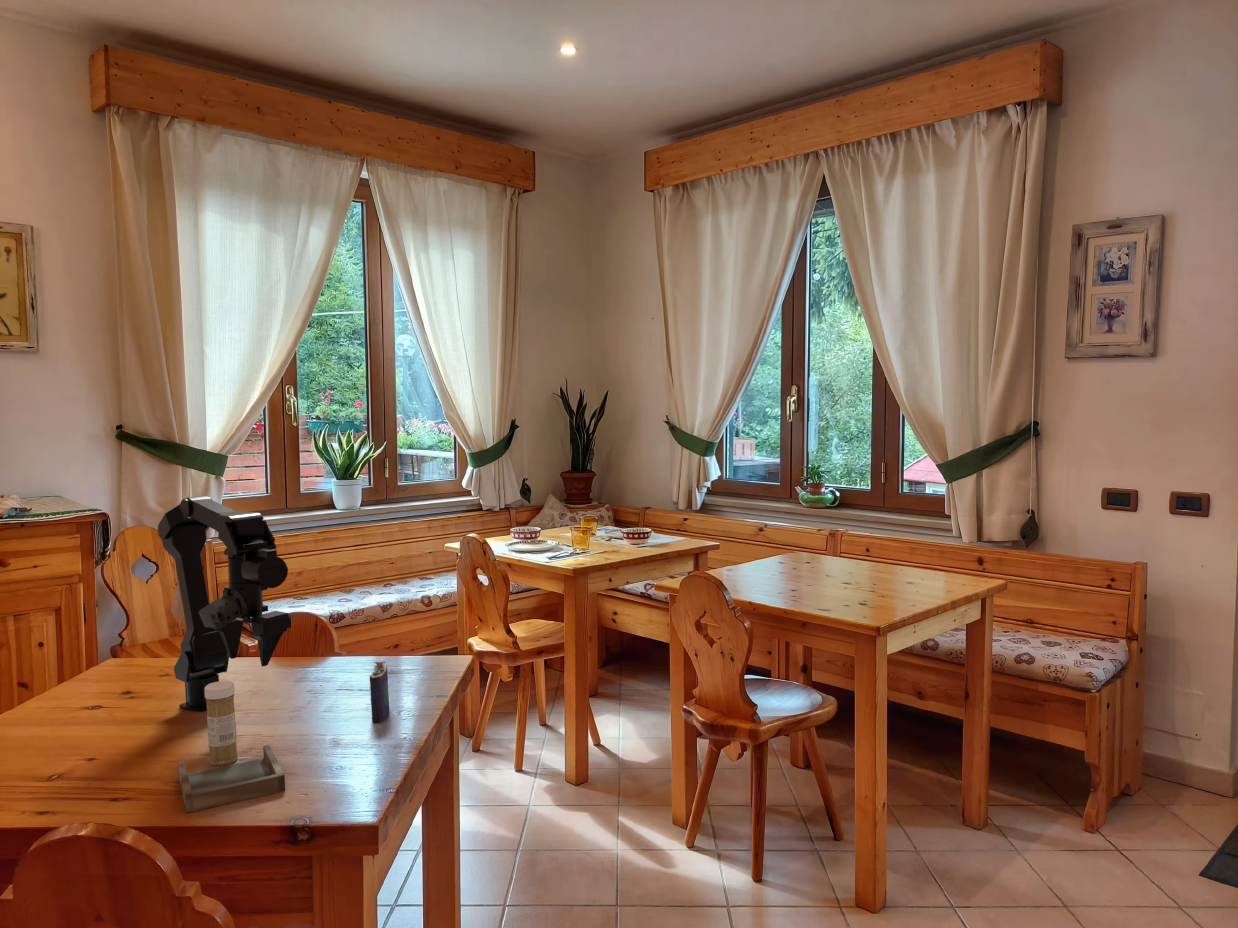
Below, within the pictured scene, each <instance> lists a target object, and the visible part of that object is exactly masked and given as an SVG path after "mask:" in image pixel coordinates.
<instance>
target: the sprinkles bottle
mask: <svg viewBox="0 0 1238 928" xmlns="http://www.w3.org/2000/svg"><path fill="white" fill-rule="evenodd" d="M234 696H235V684H234V682H233V681H232V680H231V681H230V680H219V682H214V683H211V684H208V685H207V686H205V698H206V702H207V709H206V721H207V739H208V741H207V742H208V748H209V749H208V750H209V751H208V753H209V760H208V761H209V764H210V765H212V766H227V765H230V764H232V763H234V762H235V761H236V760H237V759H238V758H239V755H238V748H237V747H238V746H237V745H238V744H237V738H238V737H237V725H236V723H237V722H236V713H235V712H236V711H235V700H234V698H235V697H234Z"/></svg>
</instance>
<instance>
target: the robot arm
mask: <svg viewBox="0 0 1238 928" xmlns="http://www.w3.org/2000/svg"><path fill="white" fill-rule="evenodd" d="M210 528H211V529H213V530H215V531H216V532H218V535H217V536H218V538H217V539H218V540H220V541H221V542H222V543H223V544H224V546H225V547H226V548H225V549H224V551H223V555H224V556H227V565H228V566H227V568H228V569H227V570H228V571H227V572H228V586H225V587H223V589H222V596H221V597H220V598H218V599H215V600H213V601H212V602H210V601H209V596H208V594H209V593H208V589H207V588H208V587H207V583H206V578H205V577H206V576H205V573H204V565H203V561H202V551H203V549H204V547H205V545H206V542H207V541H208V540H207V539H208V538H207V532H208V530H209V529H210ZM157 532H158V536H159V538H160V539H161V543H162V547H163V549H164V550H165V552H167V553H168V554H169V555H170V556H171V557H172V559H174V562H175V563H174V564H175V569H176V573H177V581H178V586H179V592H180V597H181V598H180V599H181V603H182V608H183V614H184V620H185V626H186V631H185V633H184V636H183V637H182V640H181V643H180V655H179V657H178V659H177V661H176V663H175V665H174V666H173V672H174V677H175V679H176V680H179V681H182V682H183V683H184V688H185V702H183V703H180V704H179V705H178V706H179V708H182V709H185V710H192V711H195V712H203V711H205V710H207V702H206V698H205V686H207V685H208V684H211V683H214V682H219V681H220V675H219V674H222V673H227V672H228V669H229V661H230V659H231V660H232V659H233V660H234V659H237V657H238V653H239V648H240V644H241V643H240V642H241V637H242V631H243V627H244V623H247V624H251V625H250V627H251V629H252V631H253V632H252V633H251V634H250V635H251V636H252V637H253V638H255V639H256V640H257V643H258V644H257V645H258V652H259V653H258V654H259V660H260V664H261V667H267V666H269V663H270V661H271V659H272V657H273V654H274V652H275V650H276V648H277V645H278V644H279V641H280V640H281V638H282V636H283V635H284V633H286V632H287V631H288V629H291V628H292V627H293V619H292V618H293V617H292V615H291V614H289V612H284V611H279V610H273V611H270V612H268V611H269V605H266V604H264V598H263V595H264V594H263V592H264V591H266V590H268V589H275V588H278V587H279V586H281V585H282V584H284V582H285V580H286V579H287V577H288V573H289V568H288V565H287V563H286V561H285V560H284V559H283V558H282V557H279V556H278V555H277V553H278V552H277V546H276V543H275V542H276V538H275V537H274V535H273V533H272V531H271V530H270V528H269V525H268V523H267V521H266V519H265V518H264V516H263V514H261V513H260V512H255V511H237V510H234V509H232V508H230V507H228V506H226V505H224V504H221V503H219V502H218V501H215V500H213V499H212V498H211V497H210V496H207V495H200V496H199V495H198V496H189V497H185V498H183V499H182V500H181V501H180V502H179V504H178V505H176V506H175V507H173V508H172V509H170V510H169V511H167V512H165V513H164V514H163V516H162V518H161V520H160V521H159V522H158V525H157ZM265 612H266V613H265Z"/></svg>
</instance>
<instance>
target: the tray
mask: <svg viewBox="0 0 1238 928" xmlns="http://www.w3.org/2000/svg"><path fill="white" fill-rule="evenodd" d="M262 749H263V752H262V753H263V757H262V758H255V759H252V760H247V761H242V762H237V763H234V764H232V763H231V764H227V765H222V766H219V767H214V768H210V769H205V770H200V771H197V772H196V771H195V772H192V773H188V769H187V765H186V761H183V762H177V767H178V780H179V784H180V786H179V787H180V790H181V793H182V794H181V795H182V800H183V805H184V809H185V813H186V814H190V813H194V811H195V812H198V811H204V810H207V809H211V808H210V807H212V808H214V807H215V806H216V807H219V806H218V805H220V806H224V805H228V803H229V804H232V803H233V804H234V803H236V802H237V803H238V802H240V801H245V800H250V799H253V798H254V799H255V798H257V797H262V796H266V795H270V794H271V795H272V794H277V793H279V792H283V791H286V779H285V777H286V776H285V775H286V774H285V773H284V771H283V769H282V767H281V765H280V763H279V762H278V759H277V757H276V755H275V753H274V751H273V749H272V747H271V745H270V744H266V745H263V746H262ZM216 807H215V808H216ZM206 808H207V809H206ZM188 812H189V813H188Z"/></svg>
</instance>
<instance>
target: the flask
mask: <svg viewBox="0 0 1238 928" xmlns="http://www.w3.org/2000/svg"><path fill="white" fill-rule="evenodd" d="M374 664H376V665H375V666H374V669H373V671H372V673H371V674H370V675H369V689H370V705H371V706H370V708H371V722H372V723H373V724H375V725H376V724H382V723H384V722H385V721H386V720H388V718H389V715H390V701H389V700H390V699H389V677H388V675H389V673H388V672H389V671H388V666H387V664H386V661H374Z"/></svg>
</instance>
